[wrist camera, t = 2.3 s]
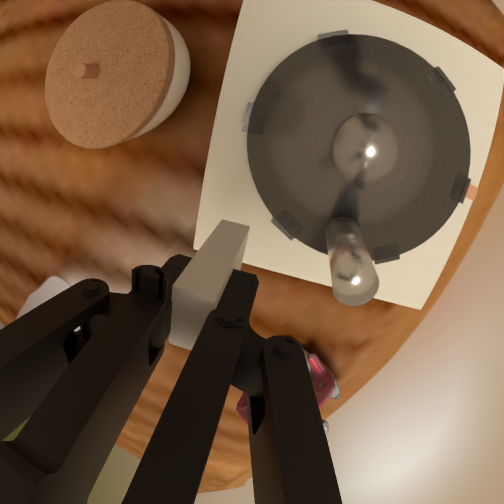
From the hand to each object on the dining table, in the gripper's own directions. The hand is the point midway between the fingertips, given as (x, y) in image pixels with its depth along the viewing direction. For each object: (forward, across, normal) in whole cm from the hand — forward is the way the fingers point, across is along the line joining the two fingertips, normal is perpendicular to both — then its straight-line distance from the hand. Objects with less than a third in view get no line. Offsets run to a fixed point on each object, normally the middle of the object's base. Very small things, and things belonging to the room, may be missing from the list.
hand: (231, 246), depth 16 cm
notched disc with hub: (+8, +7, +6) cm, 12 cm away
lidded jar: (+10, -11, +8) cm, 17 cm away
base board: (+10, +7, +6) cm, 13 cm away
